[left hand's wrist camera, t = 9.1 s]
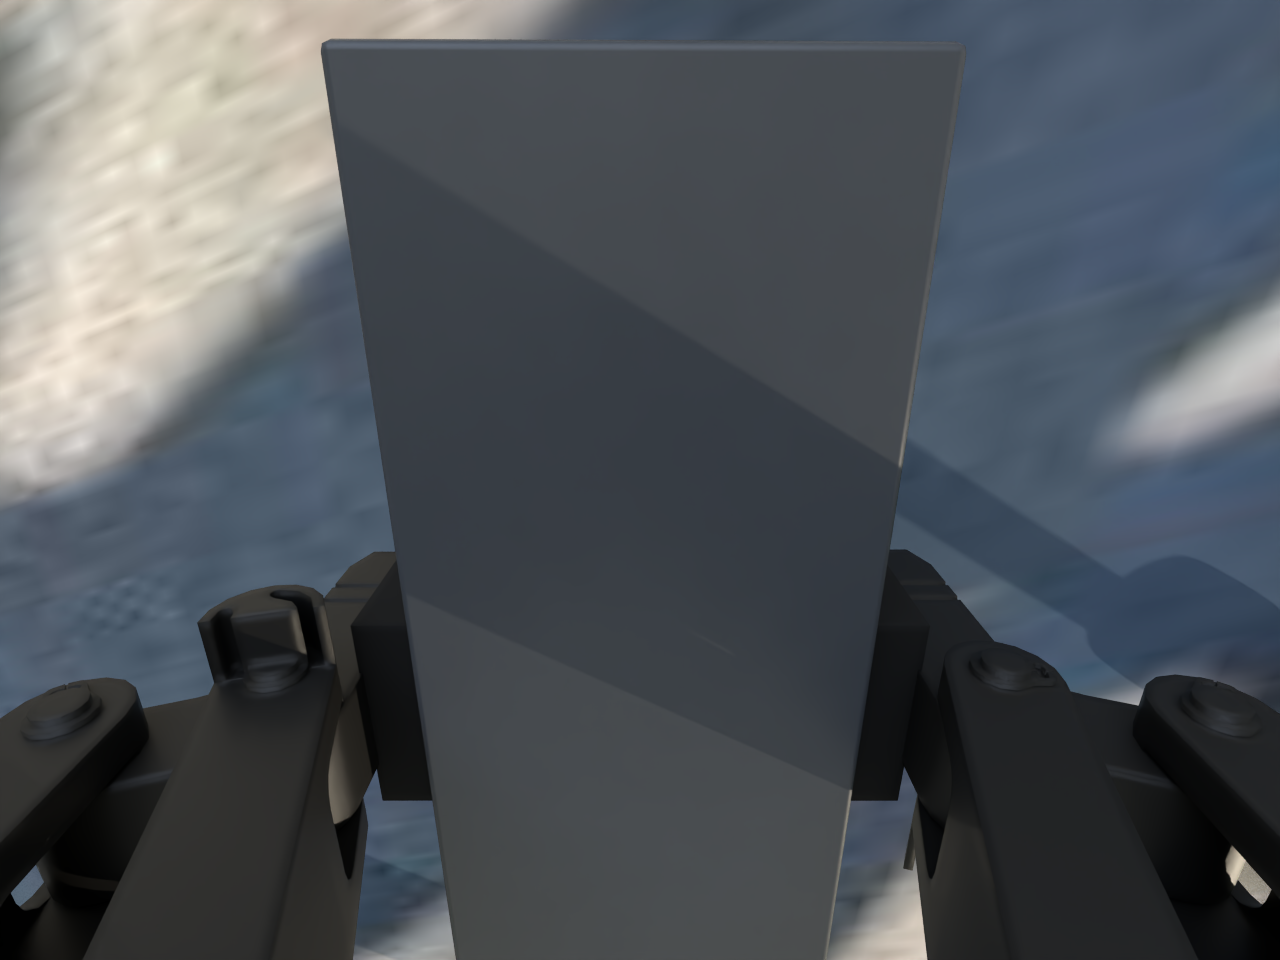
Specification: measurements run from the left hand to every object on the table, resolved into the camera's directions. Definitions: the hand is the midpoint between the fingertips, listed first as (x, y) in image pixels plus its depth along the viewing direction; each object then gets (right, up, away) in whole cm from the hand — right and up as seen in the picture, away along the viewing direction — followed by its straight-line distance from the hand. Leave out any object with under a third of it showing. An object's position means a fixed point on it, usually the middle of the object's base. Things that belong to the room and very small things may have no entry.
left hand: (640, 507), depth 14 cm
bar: (0, -23, +10) cm, 25 cm away
